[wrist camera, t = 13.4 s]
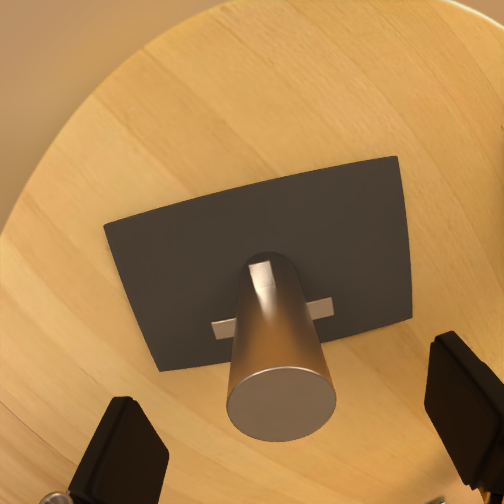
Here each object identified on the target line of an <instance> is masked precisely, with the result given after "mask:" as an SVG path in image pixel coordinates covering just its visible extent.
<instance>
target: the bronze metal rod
mask: <svg viewBox="0 0 504 504" xmlns="http://www.w3.org/2000/svg"><path fill="white" fill-rule="evenodd" d="M331 315H334V310H333V304H332V297H331V296H330V295H329V296H324V297H320V298H316V299H312V300H308V301H306V300H305V297H304V294H303V291H302V288H301V286H300V283H299V280H298V277H297V274H296V271H295V268H294V266H293V264H292V263H291V262H290V260H289V259H287V258H286V257H285V256H283V255H281V254H279V253H276V252H262V253H258V254H256V255H254V256H253V257H251V258H250V259H249V260H248V261H247V262H246V263H245V265H244V267H243V269H242V272H241V277H240V286H239V295H238V303H237V312H236V316H233V317H228V318H223V319H218V320H213V321H212V322H211V325H212V328H213V331H214V334H215V336H216V339H217V340H218V339H223V338H229V337H234V338H233V347H232V356H231V365H230V374H229V383H228V392H227V402H226V409H227V414H228V417H229V418H230V420H231V422H232V423H233V425H234V426H235V427H236V428H237V429H238V430H240V431H241V432H242V433H244V434H246V435H247V436H250V437H252V438H255V439H258V440H262V441H269V442H285V441H292V440H296V439H300V438H303V437H305V436H308V435H310V434H312V433H314V432H315V431H317V430H318V429H320V428H321V427H322V426H323V425H324V424H325V423H326V422H327V421H328V420H329V419H330V417H331V416H332V414H333V412H334V409H335V406H336V392H335V389H334V386H333V382H332V379H331V376H330V373H329V370H328V367H327V364H326V360H325V357H324V354H323V351H322V348H321V345H320V342H319V339H318V336H317V333H316V330H315V327H314V324H313V321H312V320H315V319H319V318H323V317H327V316H331Z"/></svg>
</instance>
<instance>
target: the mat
mask: <svg viewBox="0 0 504 504" xmlns="http://www.w3.org/2000/svg"><path fill="white" fill-rule="evenodd" d="M103 227H104V230H105V233H106V236H107V240H108V243H109V246H110V249H111V252H112V255H113V258H114V261H115V264H116V267H117V269H118V272H119V275H120V278H121V281H122V283H123V286H124V289H125V291H126V294H127V297H128V299H129V302H130V304H131V307H132V310H133V312H134V315H135V317H136V319H137V322H138V324H139V327H140V329H141V332H142V334H143V336H144V339H145V341H146V343H147V345H148V348H149V350H150V352H151V355H152V357H153V359H154V361H155V363H156V365H157V368H158V370H159V372H162V371H170V370H178V369H186V368H193V367H200V366H207V365H213V364H219V363H226V362H231V356H232V347H233V338H234V337H229V338H223V339H218V340H217V339H216V336H215V334H214V331H213V328H212V325H211V322H212V321H213V320H218V319H223V318H228V317H233V316H236V312H237V303H238V295H239V286H240V277H241V272H242V269H243V267H244V265H245V263H246V262H247V261H248V260H249V259H250V258H251V257H253V256H254V255H256V254H258V253H262V252H276V253H279V254H281V255H283V256H285V257H286V258H287V259H289V260H290V262H291V263H292V264H293V266H294V268H295V271H296V274H297V277H298V280H299V283H300V286H301V288H302V291H303V294H304V297H305V300H306V301H308V300H312V299H316V298H320V297H324V296H329V295H330V296H331V297H332V304H333V310H334V315H331V316H327V317H323V318H319V319H315V320H312V321H313V324H314V327H315V330H316V333H317V336H318V339H319V342H320V343H324V342H328V341H332V340H336V339H340V338H344V337H348V336H352V335H355V334H359V333H363V332H366V331H370V330H374V329H377V328H380V327H384V326H387V325H391V324H394V323H397V322H401V321H404V320H407V319H410V318H412V280H411V262H410V249H409V237H408V227H407V218H406V210H405V202H404V194H403V187H402V181H401V175H400V169H399V163H398V157H397V156H390V157H384V158H378V159H372V160H366V161H360V162H355V163H349V164H344V165H339V166H334V167H328V168H323V169H318V170H313V171H309V172H304V173H299V174H294V175H290V176H285V177H280V178H276V179H271V180H267V181H263V182H258V183H254V184H250V185H246V186H241V187H237V188H233V189H229V190H225V191H221V192H217V193H213V194H209V195H205V196H202V197H198V198H194V199H190V200H186V201H183V202H179V203H175V204H172V205H168V206H165V207H161V208H157V209H154V210H151V211H147V212H144V213H140V214H137V215H133V216H130V217H127V218H123V219H120V220H117V221H114V222H110V223H107V224H105V225H104V226H103Z"/></svg>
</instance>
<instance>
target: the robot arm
mask: <svg viewBox="0 0 504 504" xmlns="http://www.w3.org/2000/svg"><path fill="white" fill-rule="evenodd" d="M424 406H425V410H426V412H427V414H428V416H429V418H430V419H431V421H432V423H433V425H434V427H435V429H436V431H437V432H438V434H439V436H440V438H441V440H442V442H443V444H444V446H445V448H446V450H447V452H448V454H449V456H450V457H451V459H452V461H453V463H454V465H455V467H456V469H457V471H458V474H459V476H460V478H461V480H462V482H463V483H464V484H465V485H470V487H471V489H472V491H473V490H475V489H476V488H478V487H480V486H482V485H484V486H485V488H486V490H487V492H488V494H487V497H486V500H485V503H484V504H504V384H503V383H502V382H501V381H500V379H499V378H498V377H497V376H496V375H495V374H494V372H493V371H492V370H491V369H490V368H489V367H488V366H487V365H486V364H485V363H484V362H482V361H481V360H480V359H479V358H478V357H477V356H476V355H475V354H474V353H473V351H472V350H471V349H470V348H469V347H468V346H467V345H466V344H465V343H464V342H463V340H462V339H461V338H460V337H459V336H458V335H457V334H456V333H455V332H454V331H449V332H446V333H443V334H441V335H438V336H436V337H435V340H434V342H432V343H431V345H430V355H429V366H428V376H427V384H426V392H425V399H424ZM168 461H169V452H168V449H167V448H166V446H165V445H164V443H163V442H162V440H161V439H160V437H159V436H158V434H157V433H156V431H155V429H154V428H153V426H152V425H151V423H150V421H149V420H148V418H147V417H146V415H145V413H144V412H143V410H142V408H141V407H140V405H139V403H138V402H137V401H136V400H133V398H131V397H129V396H124V397H114V398H112V400H111V402H110V404H109V406H108V407H107V409H106V411H105V413H104V415H103V417H102V419H101V421H100V423H99V425H98V427H97V429H96V431H95V433H94V435H93V437H92V439H91V441H90V443H89V445H88V447H87V449H86V452H85V454H84V456H83V458H82V460H81V462H80V464H79V466H78V468H77V470H76V473H75V475H74V477H73V479H72V481H71V483H70V485H69V488H68V490H69V491H70V494H69V495H67V494H66V493H64V492H52V493H49V494H48V495H46V496H45V497H44V498H43V499H42V500H41V501H40V503H39V504H158V501H159V497H160V493H161V489H162V485H163V481H164V477H165V473H166V469H167V465H168Z"/></svg>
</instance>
